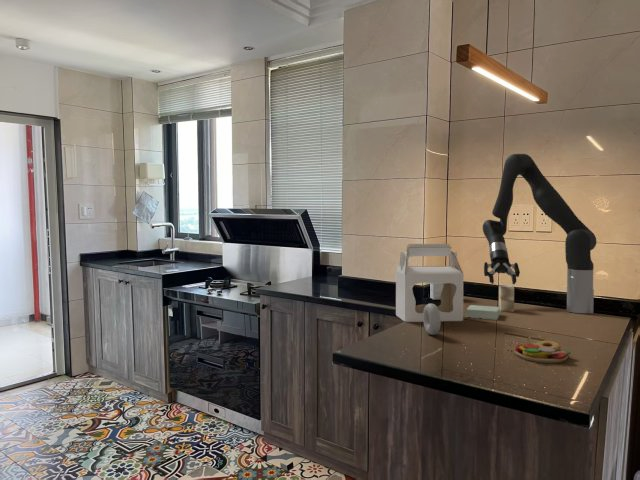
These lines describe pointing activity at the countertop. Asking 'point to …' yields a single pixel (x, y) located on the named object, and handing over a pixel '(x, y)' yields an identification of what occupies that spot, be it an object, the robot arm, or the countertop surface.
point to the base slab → (483, 312)
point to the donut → (431, 319)
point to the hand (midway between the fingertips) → (503, 282)
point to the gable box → (429, 274)
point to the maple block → (506, 298)
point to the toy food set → (542, 352)
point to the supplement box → (436, 291)
